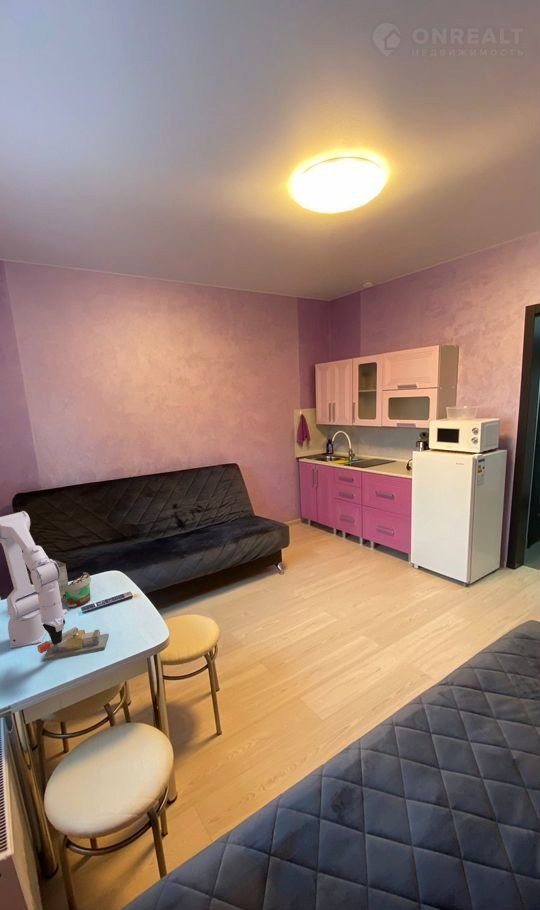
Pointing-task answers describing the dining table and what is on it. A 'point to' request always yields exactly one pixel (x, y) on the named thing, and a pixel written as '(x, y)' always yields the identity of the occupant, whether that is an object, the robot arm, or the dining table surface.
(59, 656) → the board
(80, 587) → the food container
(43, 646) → the valve lever
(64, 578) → the coffee box
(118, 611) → the dining table surface
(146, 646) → the dining table surface
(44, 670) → the dining table surface
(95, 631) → the pipe and valve
